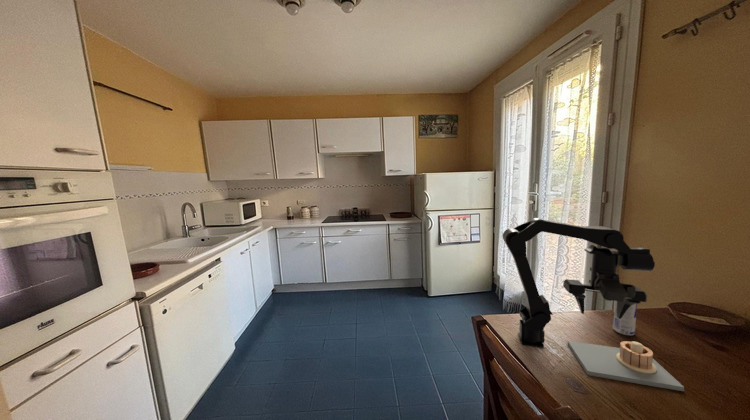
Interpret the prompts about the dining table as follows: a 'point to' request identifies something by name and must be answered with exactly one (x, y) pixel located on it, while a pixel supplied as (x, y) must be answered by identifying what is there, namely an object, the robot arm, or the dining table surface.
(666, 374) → the bobbin board
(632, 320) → the beverage can
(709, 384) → the dining table surface
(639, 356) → the wooden slatted ring
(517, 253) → the robot arm
